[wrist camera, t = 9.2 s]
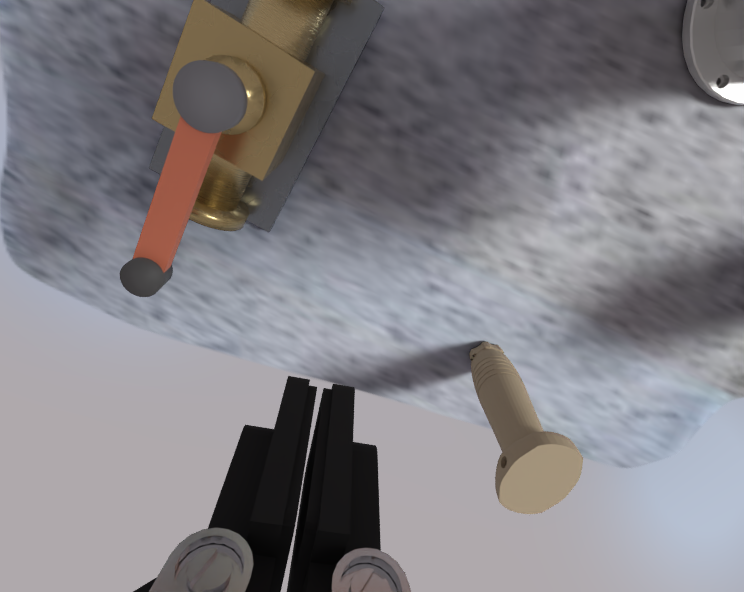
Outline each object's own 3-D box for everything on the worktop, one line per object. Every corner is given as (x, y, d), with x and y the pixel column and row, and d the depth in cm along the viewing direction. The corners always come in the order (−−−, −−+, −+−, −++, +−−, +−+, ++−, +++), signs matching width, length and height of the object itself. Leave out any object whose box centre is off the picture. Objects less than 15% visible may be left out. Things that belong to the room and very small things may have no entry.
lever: (195, 48, 21) (182, 45, 20) (257, 83, 22) (248, 83, 21) (122, 270, 26) (106, 282, 25) (174, 293, 27) (162, 306, 26)
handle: (448, 373, 43) (485, 504, 30) (476, 319, 41) (531, 436, 27) (492, 386, 44) (547, 520, 31) (522, 334, 42) (598, 455, 28)
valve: (248, -87, 28) (186, -177, 18) (383, 9, 30) (392, -25, 21) (154, 165, 34) (72, 197, 25) (271, 228, 37) (238, 280, 27)
